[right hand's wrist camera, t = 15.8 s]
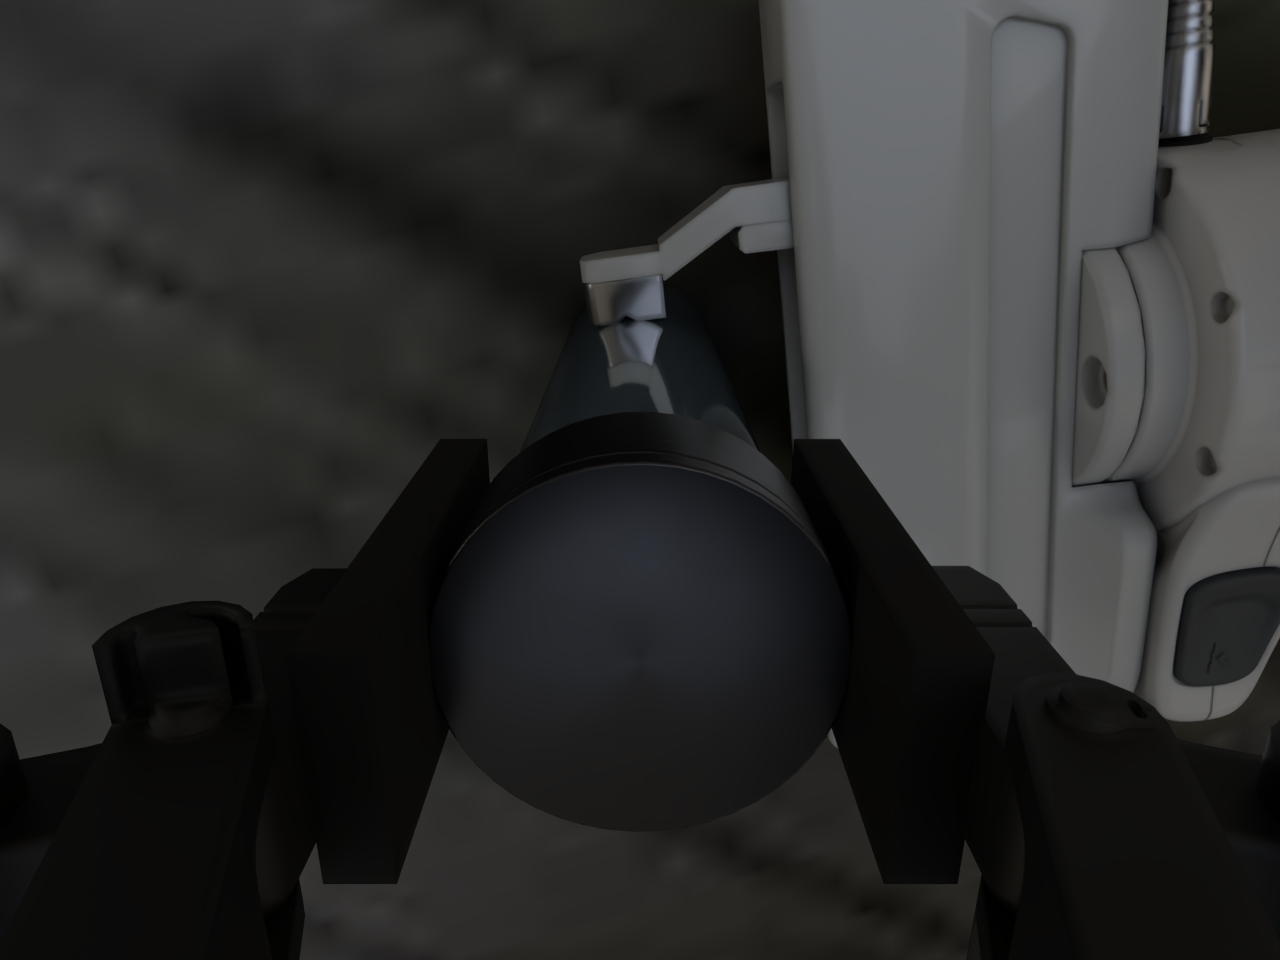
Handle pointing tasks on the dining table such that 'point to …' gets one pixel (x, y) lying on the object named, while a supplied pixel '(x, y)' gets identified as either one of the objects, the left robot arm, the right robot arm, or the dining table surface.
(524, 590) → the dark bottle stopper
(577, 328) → the dark grey cylinder
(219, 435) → the dining table surface
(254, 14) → the dining table surface
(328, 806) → the right robot arm
